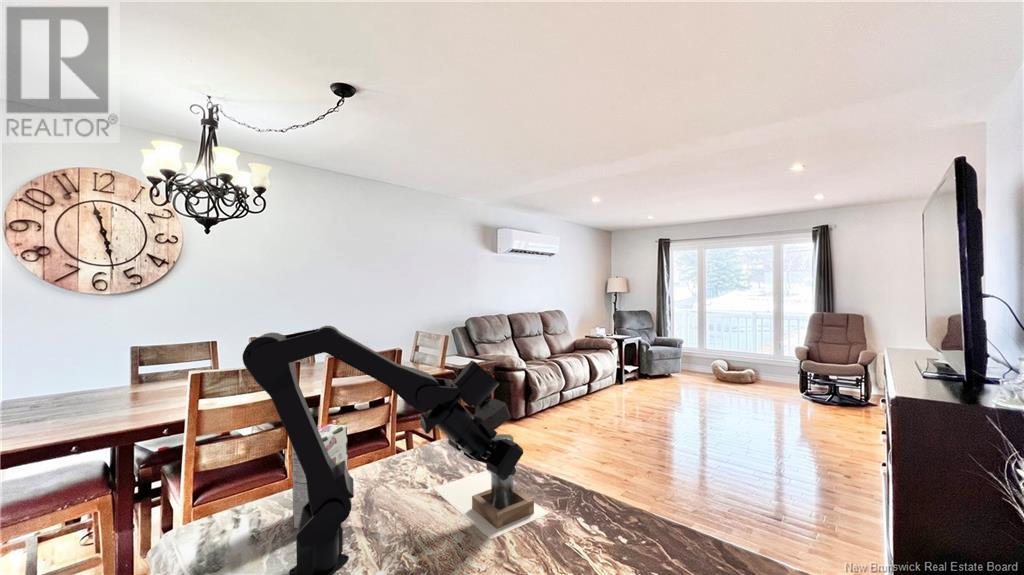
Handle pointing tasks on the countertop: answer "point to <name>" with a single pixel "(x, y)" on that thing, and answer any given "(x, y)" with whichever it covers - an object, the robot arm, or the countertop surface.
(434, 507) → the countertop surface
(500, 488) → the grey tall rounded cylinder
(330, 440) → the candy bar box
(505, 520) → the square wooden frame
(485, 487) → the board
